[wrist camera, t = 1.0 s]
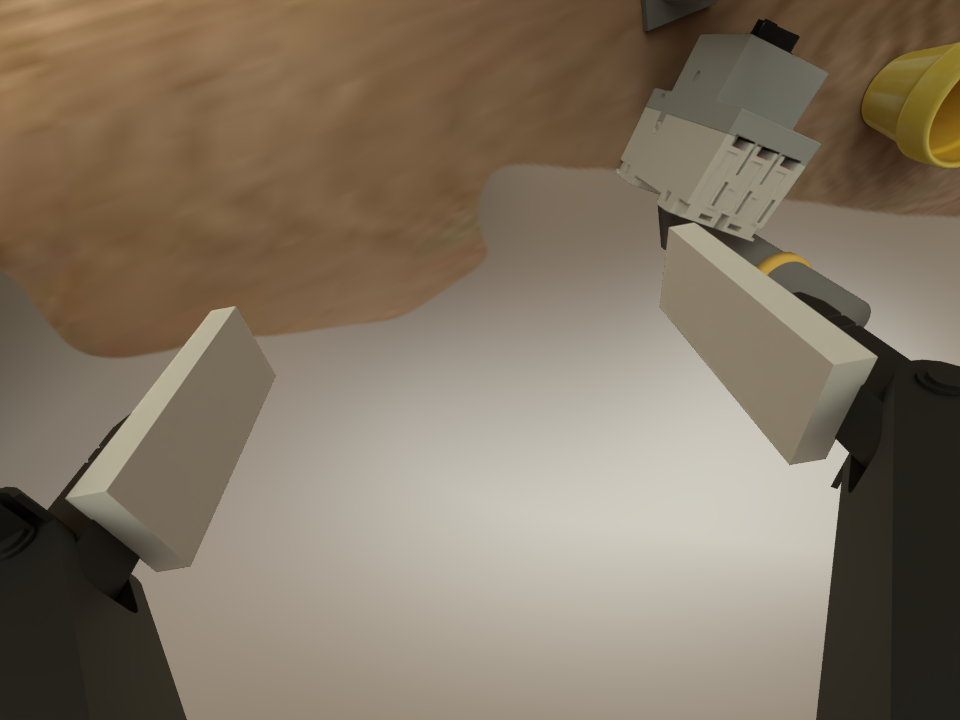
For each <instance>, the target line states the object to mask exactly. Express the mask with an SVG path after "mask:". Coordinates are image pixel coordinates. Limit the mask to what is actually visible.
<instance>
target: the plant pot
mask: <svg viewBox="0 0 960 720" xmlns="http://www.w3.org/2000/svg"><path fill="white" fill-rule="evenodd" d="M861 112H862V117H863V119H864V121H865V122H866V124H868V125H869V126H871V127H872V128H874V129H875V130H877V131H879V132H880V133H882V134H884V135H885V136H887V137H889V138H890V139H892V140H893V141H895V142H896V143H897V146H898V148H899V150H900V151H901V152H902V153H903V154H904V155H905V156H907V157H909V158H911V159H913V160H916V161H919V162H922V163H925V164H928V165H932V166H936V167H940V168H958V167H960V42H959V43H954V44H949V45H944V46H939V47H935V48H930V49H925V50H919V51H914V52H910V53H906V54H904V55H902V56H900V57H898V58H896V59H894V60H893V61H891V62H890V63H889V64H887V65H886V66H885V67H884V68H883V69H882V70H881V71H880V72H879V73H878V74H877V75H876V77H875V78H874V79H873V81H872V82H871V84H870V85H869V87H868V89H867V91H866V93H865V95H864V98H863V101H862V108H861Z"/></svg>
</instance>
